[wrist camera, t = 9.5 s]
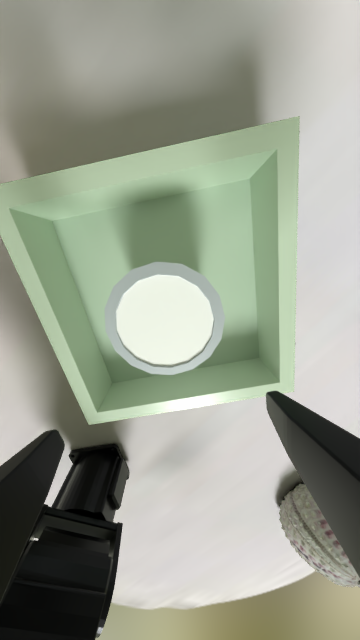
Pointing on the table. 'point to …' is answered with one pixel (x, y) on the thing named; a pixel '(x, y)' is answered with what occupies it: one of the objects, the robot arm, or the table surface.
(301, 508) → the sea urchin shell
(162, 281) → the shot glass
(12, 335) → the table surface
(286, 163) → the bin
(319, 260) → the table surface
